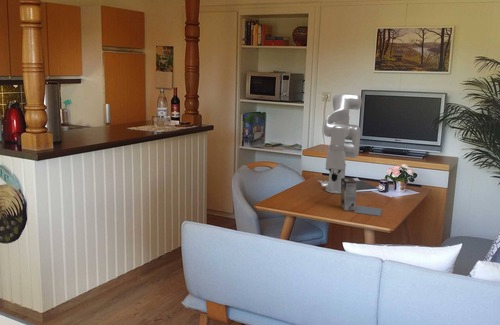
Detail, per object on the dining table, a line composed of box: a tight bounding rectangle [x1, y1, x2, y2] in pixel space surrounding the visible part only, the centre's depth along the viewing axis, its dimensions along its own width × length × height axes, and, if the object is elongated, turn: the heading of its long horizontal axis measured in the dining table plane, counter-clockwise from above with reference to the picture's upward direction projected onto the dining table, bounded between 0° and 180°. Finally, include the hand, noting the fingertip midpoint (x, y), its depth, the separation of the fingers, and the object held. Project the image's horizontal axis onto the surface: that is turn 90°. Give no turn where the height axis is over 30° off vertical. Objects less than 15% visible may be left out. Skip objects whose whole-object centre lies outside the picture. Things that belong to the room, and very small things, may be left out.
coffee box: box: [340, 177, 357, 211], centre depth 286 cm, size 9×6×16 cm
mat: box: [353, 205, 383, 217], centre depth 284 cm, size 14×14×1 cm
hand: (334, 181), depth 286 cm, fingers closed
